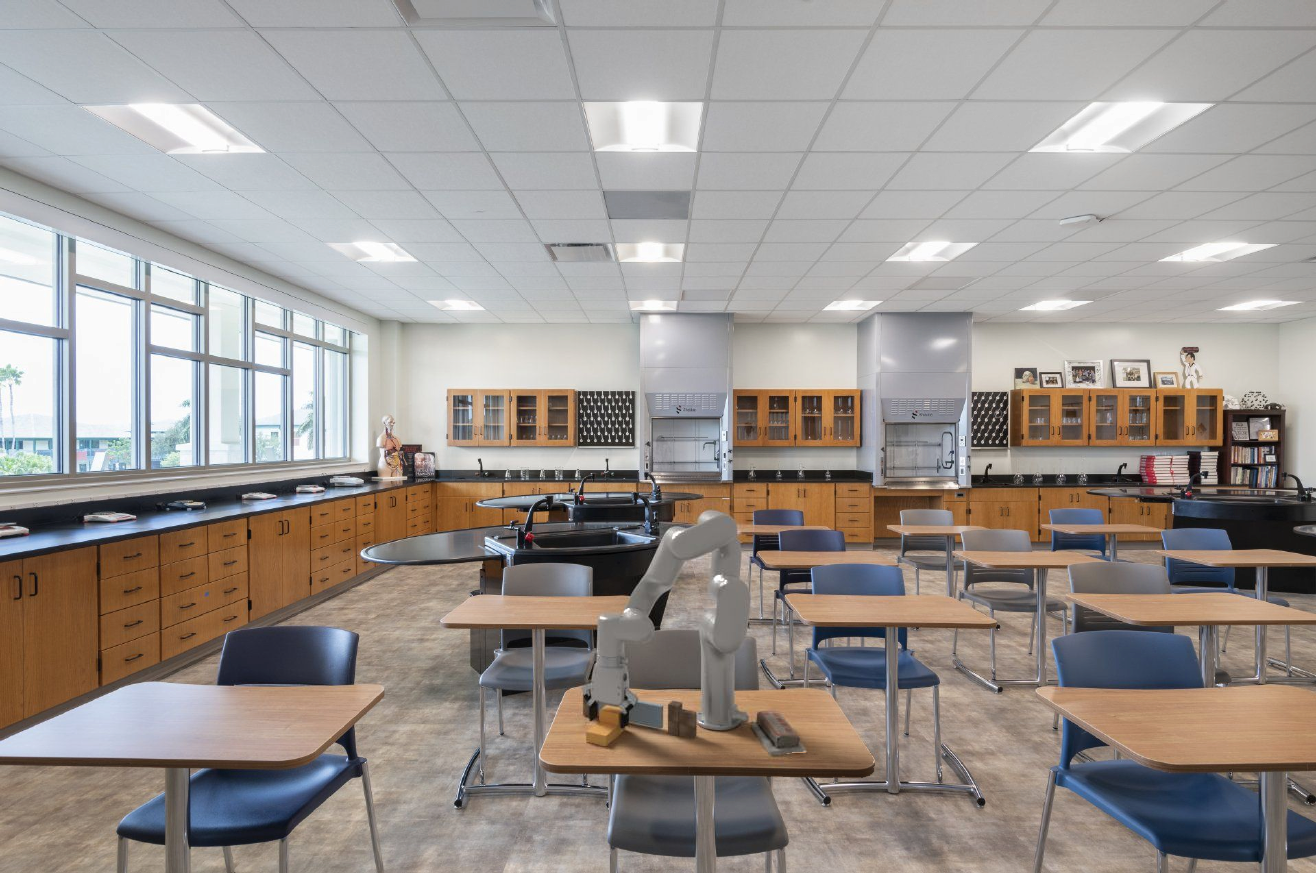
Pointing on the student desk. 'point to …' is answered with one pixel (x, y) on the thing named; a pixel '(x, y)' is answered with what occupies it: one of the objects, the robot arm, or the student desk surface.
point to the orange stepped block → (606, 726)
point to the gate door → (642, 713)
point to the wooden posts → (671, 719)
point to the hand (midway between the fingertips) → (608, 722)
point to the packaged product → (776, 733)
